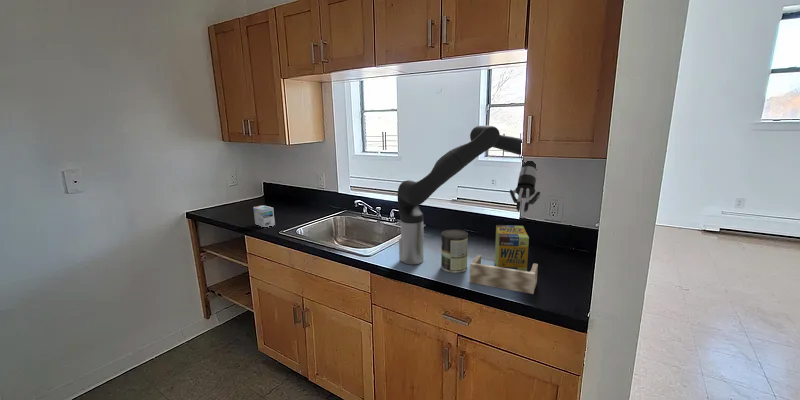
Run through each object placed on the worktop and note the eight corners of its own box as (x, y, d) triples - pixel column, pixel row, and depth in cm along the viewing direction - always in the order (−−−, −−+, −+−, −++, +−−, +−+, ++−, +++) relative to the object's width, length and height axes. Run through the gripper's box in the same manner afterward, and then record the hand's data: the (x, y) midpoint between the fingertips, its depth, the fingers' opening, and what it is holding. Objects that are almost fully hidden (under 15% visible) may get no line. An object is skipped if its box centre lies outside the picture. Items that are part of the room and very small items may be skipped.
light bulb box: (275, 225, 206) (273, 207, 204) (264, 228, 201) (262, 209, 199) (265, 222, 213) (263, 204, 210) (254, 225, 208) (252, 207, 205)
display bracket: (469, 282, 131) (470, 264, 129) (476, 272, 139) (477, 255, 137) (533, 294, 121) (534, 274, 120) (536, 282, 129) (537, 263, 128)
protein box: (497, 276, 135) (499, 236, 132) (494, 260, 150) (495, 224, 146) (527, 278, 133) (529, 237, 130) (521, 262, 148) (523, 225, 145)
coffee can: (437, 270, 141) (437, 235, 138) (445, 261, 150) (446, 228, 147) (463, 274, 137) (464, 238, 134) (470, 264, 146) (471, 231, 143)
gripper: (510, 172, 167) (504, 204, 159) (543, 174, 161) (538, 207, 153) (512, 182, 172) (506, 213, 164) (543, 184, 166) (539, 216, 158)
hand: (521, 210), depth 159 cm, fingers closed
